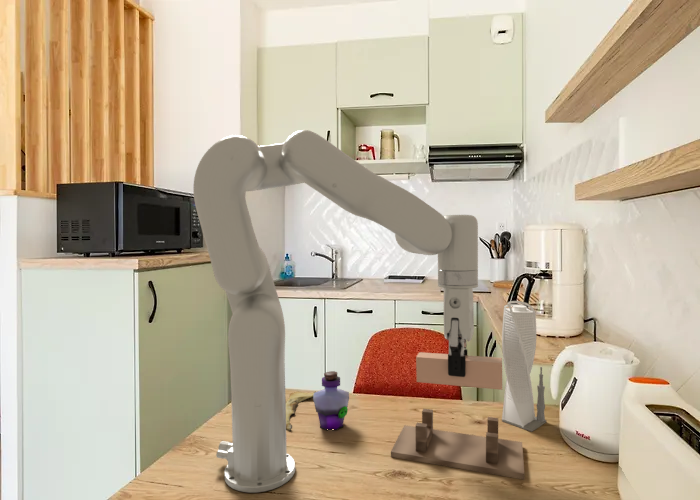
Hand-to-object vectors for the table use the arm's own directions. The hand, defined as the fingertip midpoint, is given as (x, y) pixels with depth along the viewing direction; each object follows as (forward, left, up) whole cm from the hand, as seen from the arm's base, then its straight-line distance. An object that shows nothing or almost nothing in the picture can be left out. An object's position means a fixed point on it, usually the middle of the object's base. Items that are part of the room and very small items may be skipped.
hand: (457, 371), depth 85 cm
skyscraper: (+12, +18, -16) cm, 27 cm away
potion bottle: (-28, +3, -16) cm, 33 cm away
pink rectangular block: (0, 0, -2) cm, 2 cm away
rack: (0, 0, -16) cm, 16 cm away
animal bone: (-39, +7, -17) cm, 43 cm away
